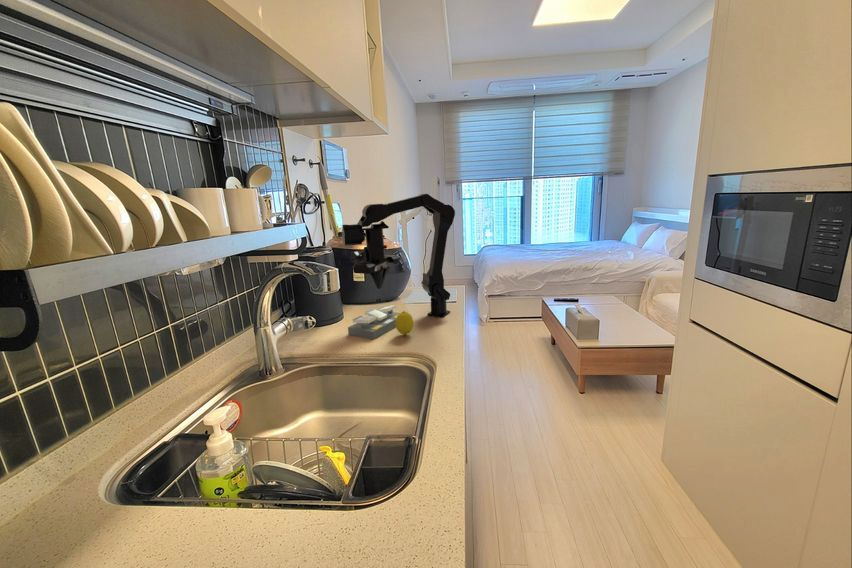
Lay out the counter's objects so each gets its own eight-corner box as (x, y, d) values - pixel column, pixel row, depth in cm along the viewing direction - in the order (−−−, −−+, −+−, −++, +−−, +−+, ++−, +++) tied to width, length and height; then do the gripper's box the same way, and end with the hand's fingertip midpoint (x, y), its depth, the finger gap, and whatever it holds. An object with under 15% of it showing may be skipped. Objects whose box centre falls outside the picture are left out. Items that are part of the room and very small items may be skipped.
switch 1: (360, 318, 120) (360, 315, 119) (376, 319, 116) (375, 316, 116) (352, 322, 116) (352, 319, 116) (368, 323, 113) (367, 319, 113)
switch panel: (383, 317, 132) (382, 307, 131) (406, 320, 128) (405, 310, 127) (348, 334, 116) (347, 323, 115) (373, 339, 111) (372, 328, 111)
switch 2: (382, 310, 130) (381, 307, 130) (396, 307, 127) (395, 304, 126) (375, 313, 126) (374, 310, 126) (389, 310, 123) (388, 307, 123)
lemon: (393, 337, 112) (392, 313, 111) (400, 331, 118) (399, 307, 116) (410, 339, 111) (409, 314, 109) (416, 333, 116) (415, 309, 114)
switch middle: (371, 310, 124) (372, 307, 124) (386, 317, 122) (387, 314, 121) (364, 314, 121) (364, 310, 121) (379, 320, 118) (380, 317, 118)
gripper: (372, 239, 132) (375, 280, 135) (337, 247, 116) (342, 294, 120) (398, 239, 126) (401, 282, 130) (365, 247, 111) (370, 296, 114)
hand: (379, 288), depth 124 cm, fingers closed
